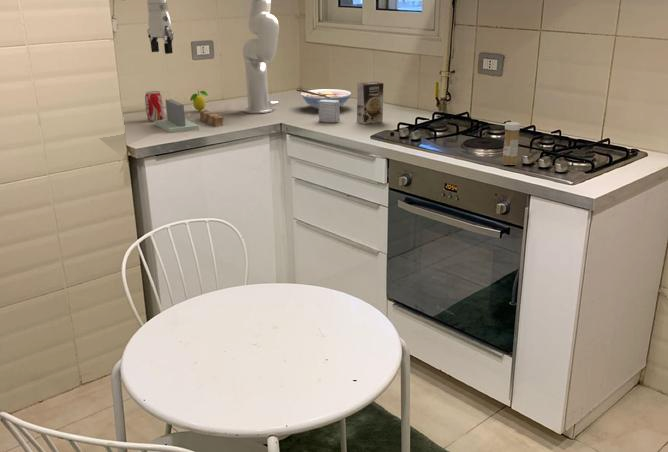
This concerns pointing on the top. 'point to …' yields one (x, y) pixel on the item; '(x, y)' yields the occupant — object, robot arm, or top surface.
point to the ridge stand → (176, 118)
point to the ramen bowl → (324, 96)
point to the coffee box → (370, 102)
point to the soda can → (154, 105)
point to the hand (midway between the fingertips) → (162, 52)
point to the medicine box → (329, 111)
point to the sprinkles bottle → (511, 142)
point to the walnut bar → (211, 118)
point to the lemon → (199, 100)
